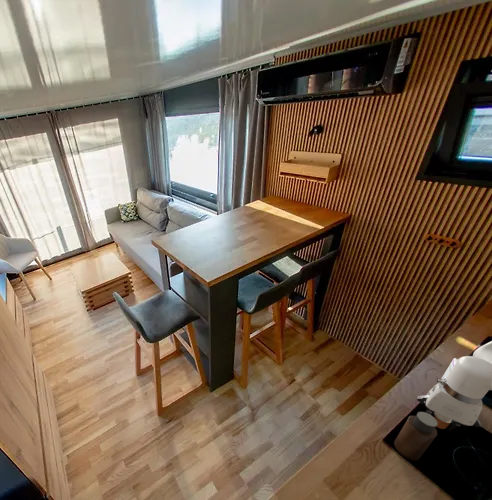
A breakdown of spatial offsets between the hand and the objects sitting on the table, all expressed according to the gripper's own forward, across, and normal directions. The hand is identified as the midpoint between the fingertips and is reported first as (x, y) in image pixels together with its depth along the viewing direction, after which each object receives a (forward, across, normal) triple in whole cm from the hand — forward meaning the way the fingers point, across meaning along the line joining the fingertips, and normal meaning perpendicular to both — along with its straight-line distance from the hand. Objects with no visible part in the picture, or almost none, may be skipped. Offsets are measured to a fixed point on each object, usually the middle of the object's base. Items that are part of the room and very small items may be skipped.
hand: (438, 422), depth 86 cm
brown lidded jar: (0, -7, -16) cm, 17 cm away
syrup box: (0, +3, +16) cm, 16 cm away
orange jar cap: (0, 0, 0) cm, 0 cm away
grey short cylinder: (-14, -7, -16) cm, 22 cm away
